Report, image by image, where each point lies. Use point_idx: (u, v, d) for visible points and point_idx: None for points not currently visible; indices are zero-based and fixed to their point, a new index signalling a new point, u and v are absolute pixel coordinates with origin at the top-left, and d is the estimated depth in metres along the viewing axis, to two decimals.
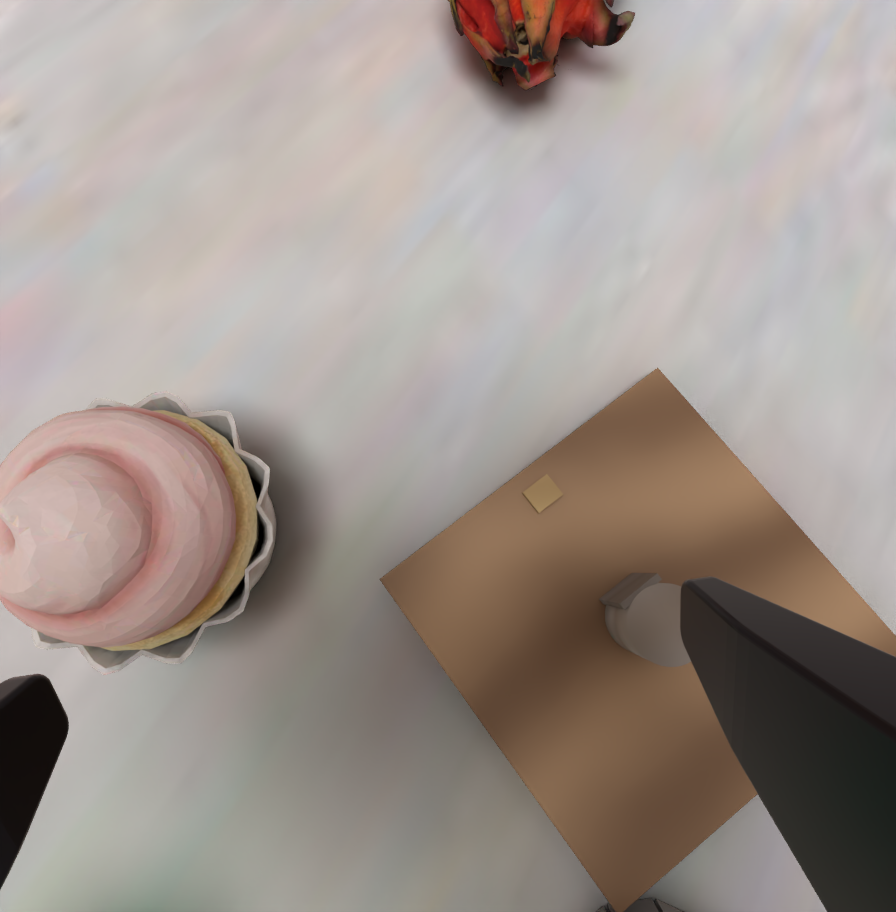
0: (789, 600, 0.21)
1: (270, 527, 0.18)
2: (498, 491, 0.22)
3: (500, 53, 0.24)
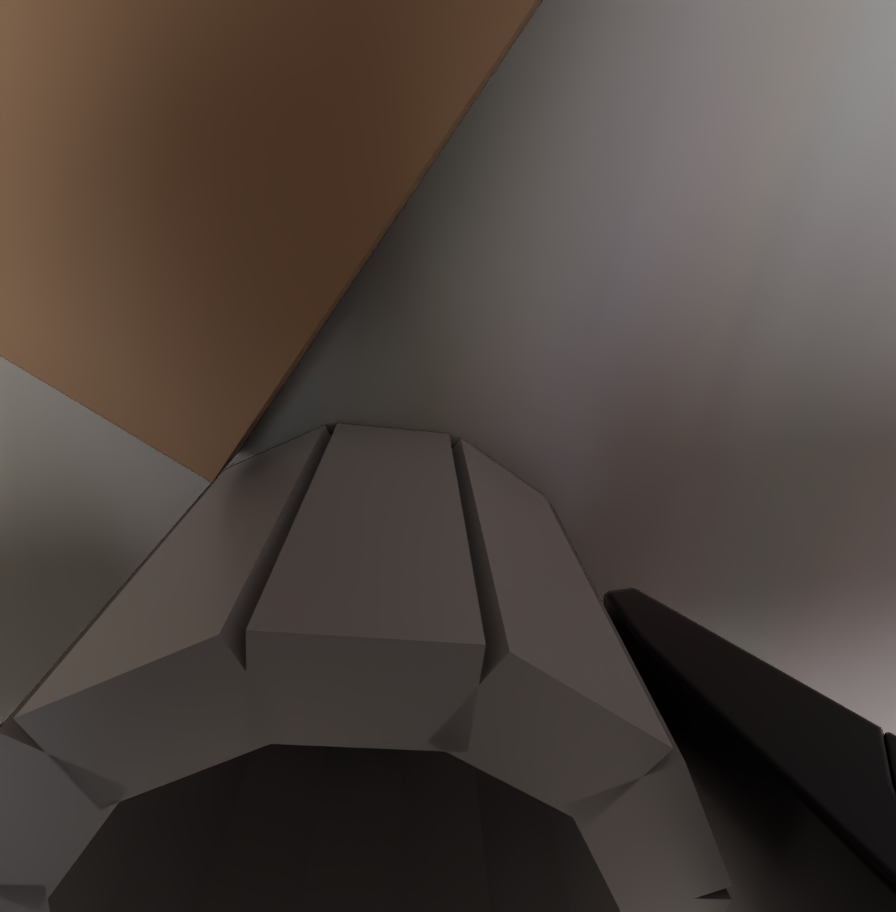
0: None
1: None
2: None
3: None
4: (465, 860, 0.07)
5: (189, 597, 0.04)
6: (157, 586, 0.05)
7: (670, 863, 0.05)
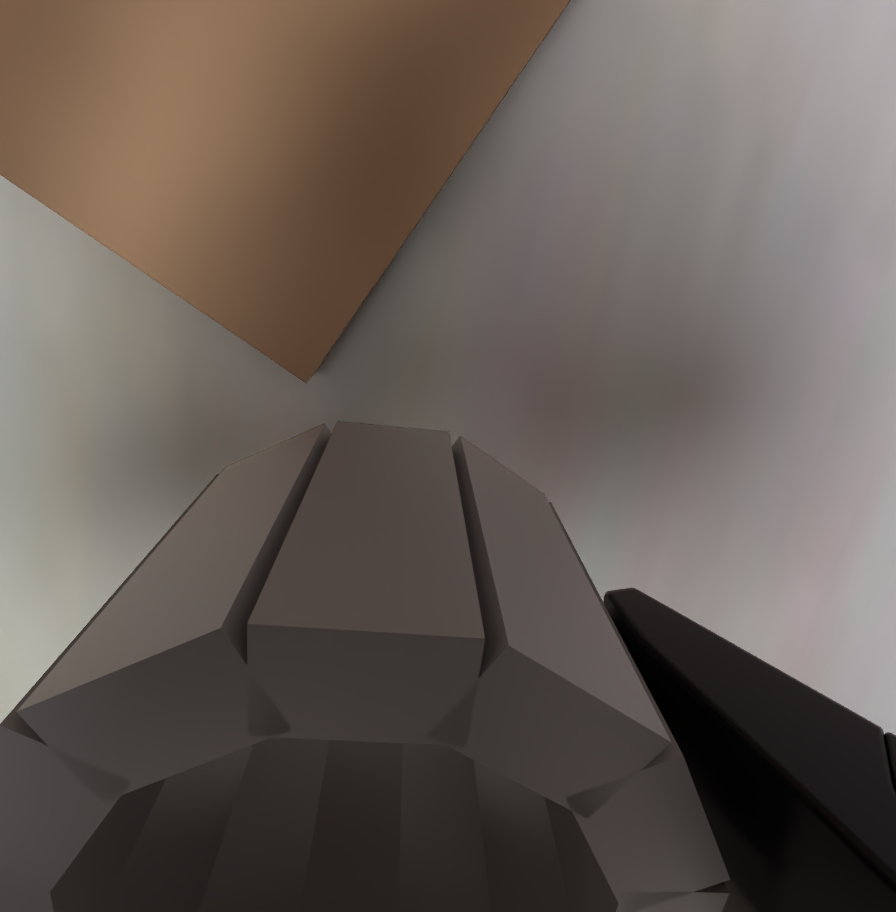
0: None
1: None
2: None
3: None
4: (464, 856, 0.07)
5: (190, 592, 0.04)
6: (158, 581, 0.05)
7: (668, 857, 0.05)
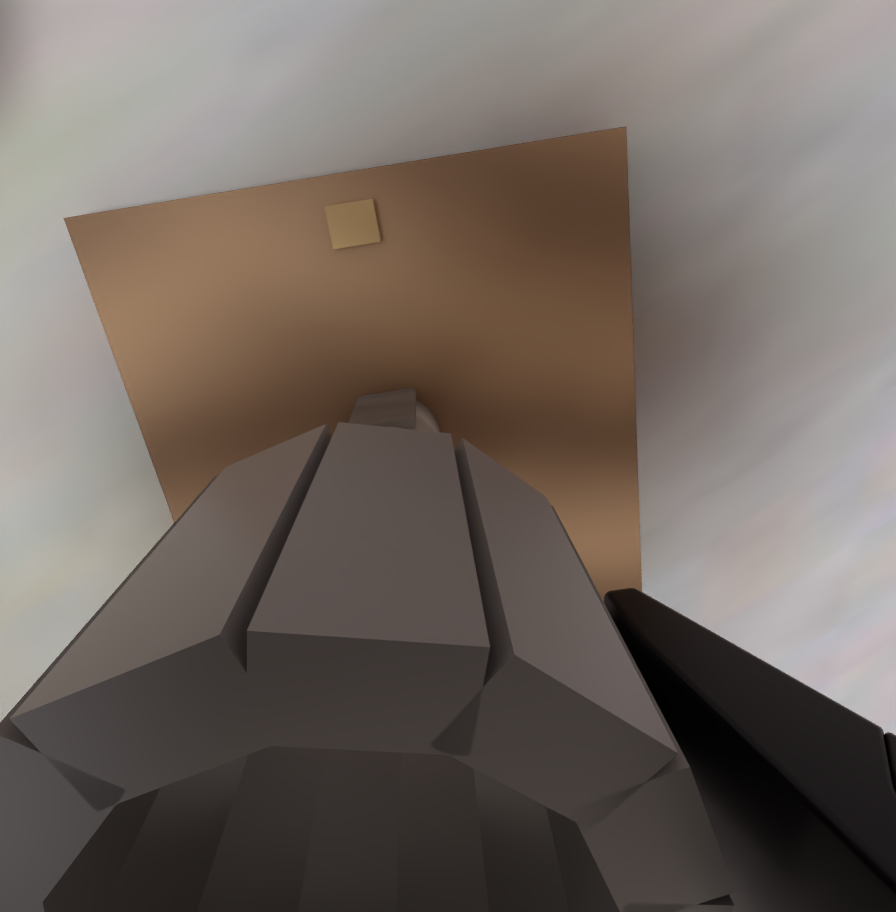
0: (567, 501, 0.17)
1: None
2: (293, 184, 0.14)
3: None
4: (464, 863, 0.07)
5: (189, 597, 0.04)
6: (157, 584, 0.05)
7: (673, 870, 0.05)
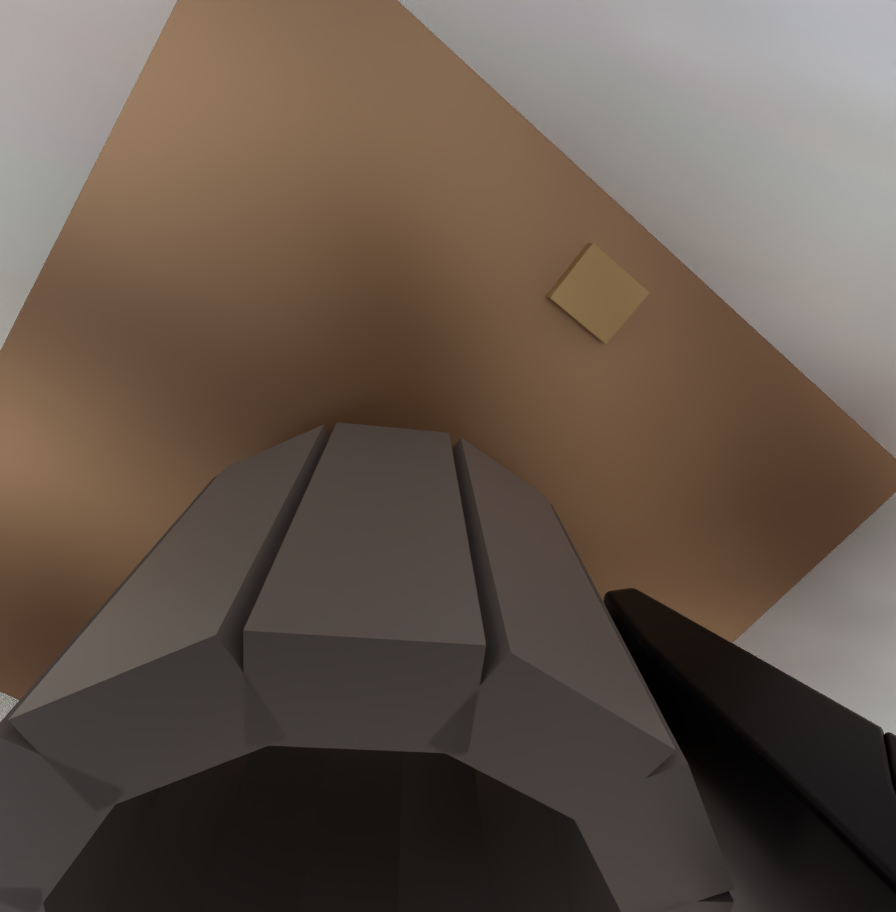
0: None
1: None
2: (581, 178, 0.09)
3: None
4: (465, 862, 0.07)
5: (186, 597, 0.04)
6: (154, 585, 0.05)
7: (671, 866, 0.05)
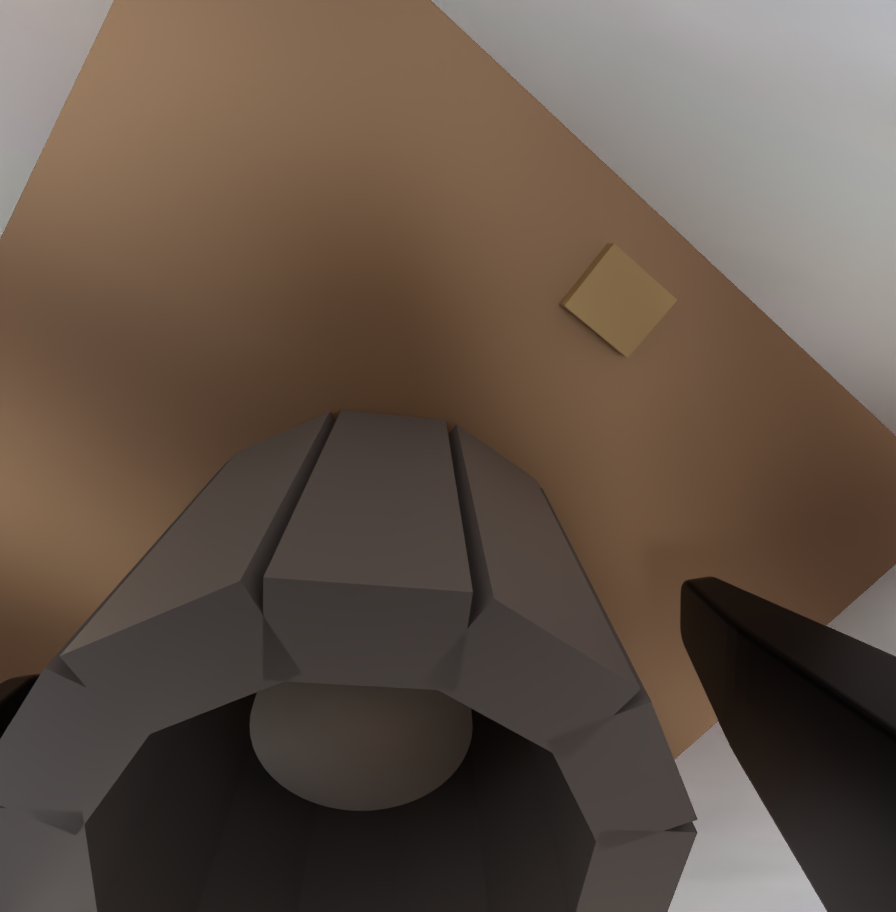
0: None
1: None
2: (600, 169, 0.07)
3: None
4: (460, 817, 0.08)
5: (210, 556, 0.05)
6: (180, 549, 0.05)
7: (640, 798, 0.05)
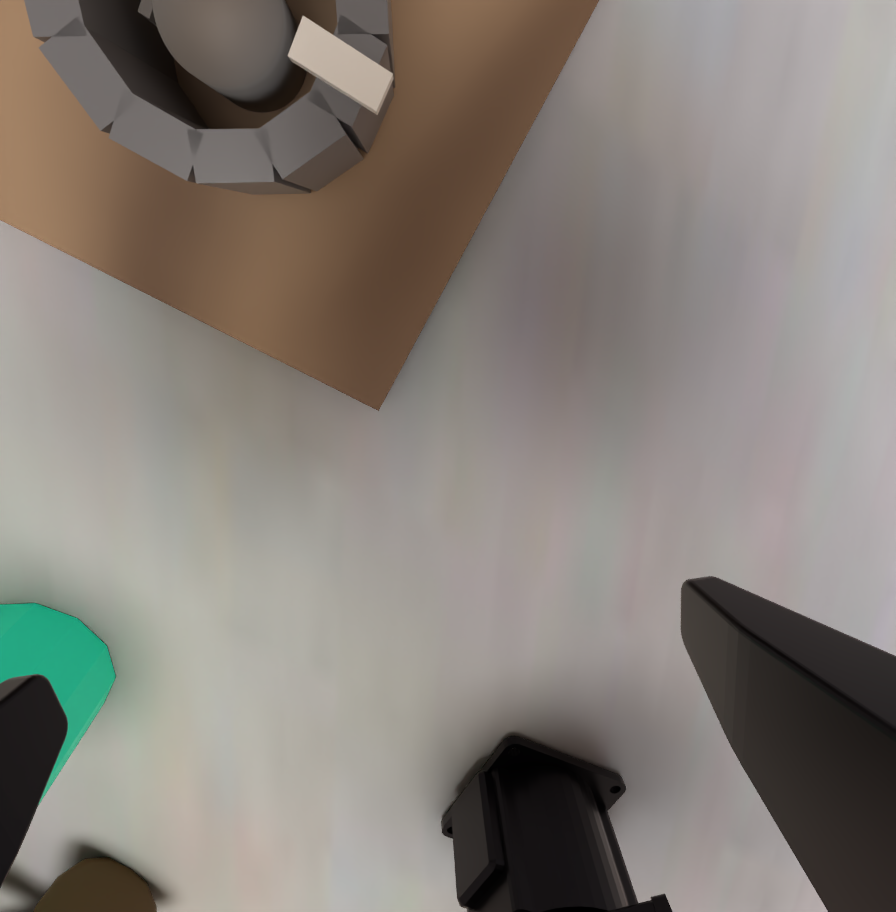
0: None
1: None
2: None
3: None
4: None
5: None
6: None
7: None
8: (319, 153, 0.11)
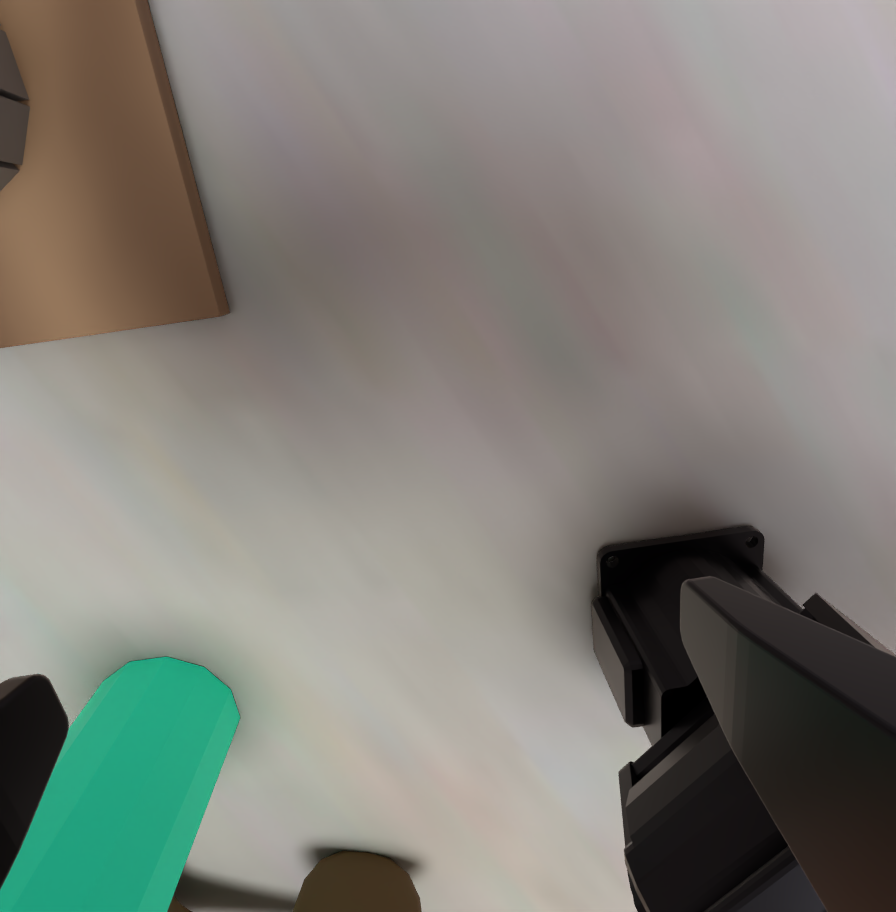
0: None
1: None
2: None
3: None
4: None
5: None
6: None
7: None
8: None
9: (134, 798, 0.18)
